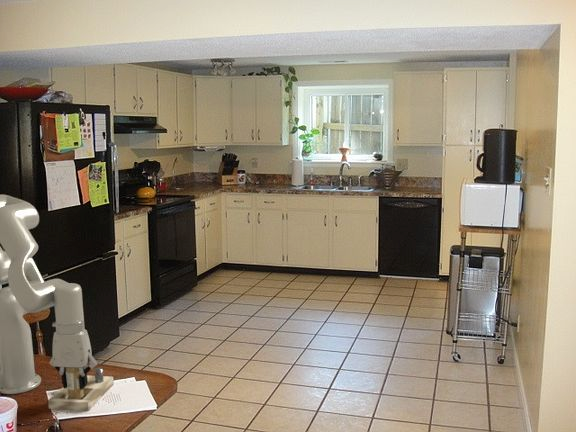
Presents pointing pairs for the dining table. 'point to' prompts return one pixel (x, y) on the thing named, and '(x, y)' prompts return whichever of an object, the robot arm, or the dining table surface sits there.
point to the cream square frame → (91, 393)
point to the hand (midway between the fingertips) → (75, 386)
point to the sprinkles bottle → (73, 383)
